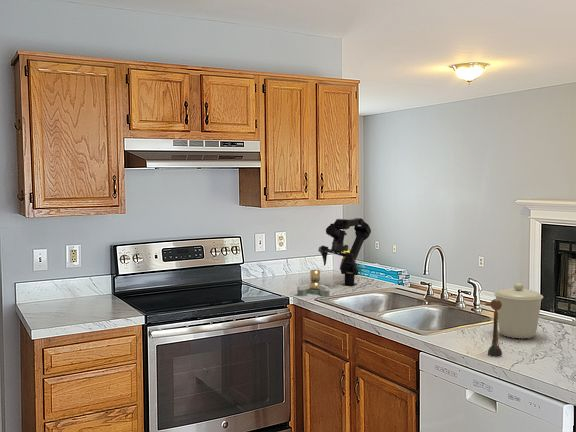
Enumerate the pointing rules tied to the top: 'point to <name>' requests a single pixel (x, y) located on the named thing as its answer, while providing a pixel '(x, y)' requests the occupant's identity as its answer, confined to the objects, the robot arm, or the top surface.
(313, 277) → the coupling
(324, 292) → the shaft bench
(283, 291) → the top surface
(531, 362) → the top surface
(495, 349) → the wooden tabletop sculpture
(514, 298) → the canister
